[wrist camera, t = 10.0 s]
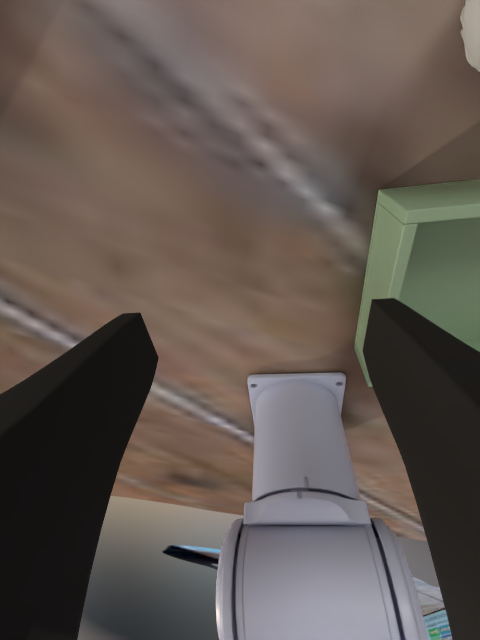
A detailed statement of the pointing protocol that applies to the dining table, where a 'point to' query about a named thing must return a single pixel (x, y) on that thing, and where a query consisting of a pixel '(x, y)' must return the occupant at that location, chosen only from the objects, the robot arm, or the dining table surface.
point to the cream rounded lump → (471, 32)
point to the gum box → (437, 626)
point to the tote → (426, 258)
